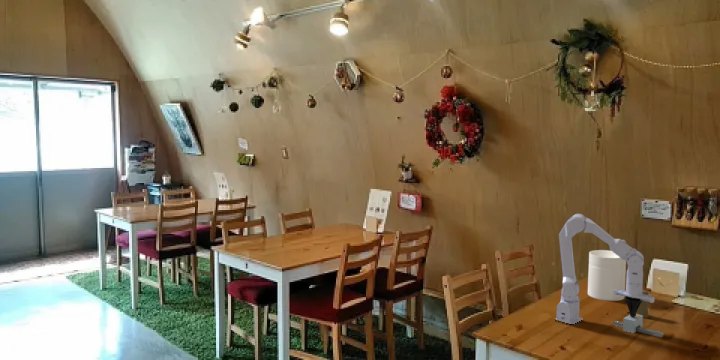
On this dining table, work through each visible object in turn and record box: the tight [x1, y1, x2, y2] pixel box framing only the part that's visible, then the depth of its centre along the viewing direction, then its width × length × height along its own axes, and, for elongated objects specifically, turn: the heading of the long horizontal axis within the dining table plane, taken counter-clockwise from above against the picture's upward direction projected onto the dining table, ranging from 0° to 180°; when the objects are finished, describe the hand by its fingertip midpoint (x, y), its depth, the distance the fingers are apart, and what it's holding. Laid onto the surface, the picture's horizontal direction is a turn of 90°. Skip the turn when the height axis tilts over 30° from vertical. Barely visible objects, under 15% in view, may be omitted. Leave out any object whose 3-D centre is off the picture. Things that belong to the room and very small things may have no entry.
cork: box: [636, 289, 650, 319], centre depth 235 cm, size 6×6×11 cm
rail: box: [613, 320, 664, 338], centre depth 218 cm, size 2×18×2 cm, turn 43°
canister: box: [587, 249, 627, 302], centre depth 262 cm, size 16×16×20 cm
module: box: [622, 314, 644, 334], centre depth 219 cm, size 9×4×5 cm, turn 133°
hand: (632, 316), depth 219 cm, fingers closed
